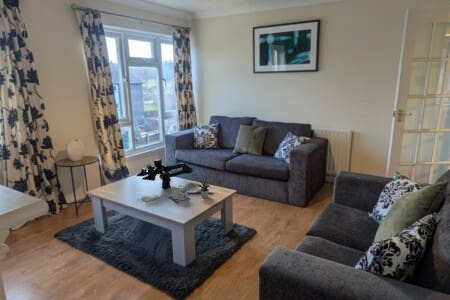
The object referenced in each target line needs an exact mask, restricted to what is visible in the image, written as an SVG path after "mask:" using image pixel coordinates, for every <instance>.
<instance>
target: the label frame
mask: <svg viewBox="0 0 450 300" xmlns="http://www.w3.org/2000/svg"><path fill="white" fill-rule="evenodd" d="M167 198H168V199H169V200H171V201H173V202H174V203H176V204H179V203H180V202H179V201H178V200H177V199H172V195H171V196H170V195H169V196H168V197H167ZM186 199H187V200H192V199H191V197H189V196H187V198H186Z"/></svg>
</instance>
